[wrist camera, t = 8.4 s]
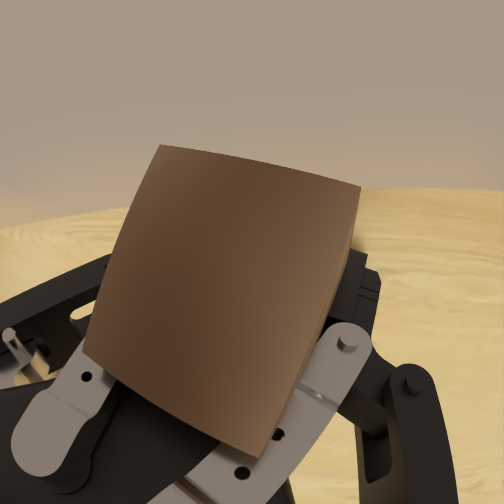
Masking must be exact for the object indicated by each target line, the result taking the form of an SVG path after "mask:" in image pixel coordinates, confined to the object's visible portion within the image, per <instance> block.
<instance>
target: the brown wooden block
mask: <svg viewBox="0 0 504 504" xmlns="http://www.w3.org/2000/svg"><path fill="white" fill-rule="evenodd" d="M360 191H361V187H359V186H356V185H353V184H349V183H346V182H342V181H338V180H335V179H330V178H327V177H323V176H319V175H315V174H312V173H307V172H303V171H299V170H295V169H291V168H286V167H282V166H278V165H273V164H269V163H264V162H259V161H254V160H250V159H244V158H239V157H234V156H229V155H224V154H217V153H212V152H206V151H200V150H194V149H188V148H181V147H174V146H167V145H159V147H158V149H157V151H156V153H155V155H154V157H153V159H152V161H151V163H150V165H149V167H148V169H147V171H146V174H145V176H144V178H143V180H142V182H141V184H140V186H139V189H138V191H137V193H136V195H135V197H134V200H133V202H132V204H131V207H130V209H129V211H128V214H127V216H126V218H125V221H124V223H123V226H122V228H121V231H120V233H119V236H118V238H117V241H116V244H115V246H114V249H113V252H112V254H111V257H110V260H109V263H108V265H107V268H106V271H105V274H104V277H103V280H102V283H101V286H100V289H99V292H98V295H97V298H96V301H95V305H94V308H93V311H92V315H91V318H90V322H89V325H88V329H87V333H86V336H85V340H84V344H83V348H82V352H83V353H84V354H85V355H86V356H88V357H89V358H90V359H91V360H93V361H94V362H95V363H96V364H98V365H99V366H100V367H102V368H103V369H104V370H106V371H107V372H108V373H110V374H111V375H112V376H114V377H115V378H116V379H118V380H119V381H121V382H122V383H123V384H125V385H126V386H128V387H129V388H131V389H132V390H134V391H135V392H137V393H138V394H140V395H141V396H143V397H144V398H146V399H147V400H149V401H150V402H152V403H153V404H155V405H157V406H158V407H160V408H161V409H163V410H165V411H166V412H168V413H170V414H171V415H173V416H175V417H177V418H178V419H180V420H182V421H184V422H185V423H187V424H189V425H191V426H193V427H194V428H196V429H198V430H200V431H202V432H204V433H206V434H208V435H210V436H212V437H214V438H216V439H218V440H220V441H222V442H224V443H226V444H228V445H230V446H232V447H234V448H236V449H239V450H241V451H243V452H245V453H248V454H250V455H252V456H255V457H257V458H259V457H260V455H261V454H262V452H263V450H264V449H265V447H266V445H267V444H268V442H269V440H270V439H271V437H272V435H273V434H274V432H275V429H276V427H277V425H278V423H279V421H280V419H281V417H282V415H283V413H284V411H285V409H286V407H287V405H288V403H289V401H290V399H291V397H292V395H293V392H294V390H295V388H296V386H297V384H298V383H299V381H300V379H301V377H302V375H303V373H304V370H305V368H306V366H307V363H308V361H309V359H310V357H311V354H312V352H313V349H314V347H315V345H316V343H317V342H318V341H319V338H320V335H321V333H322V330H323V327H324V324H325V321H326V318H327V315H328V313H329V310H330V308H331V305H332V302H333V300H334V297H335V294H336V291H337V289H338V286H339V283H340V280H341V278H342V275H343V272H344V269H345V266H346V263H347V259H348V255H349V250H350V245H351V240H352V235H353V230H354V225H355V220H356V214H357V208H358V203H359V197H360Z"/></svg>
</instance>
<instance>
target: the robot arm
mask: <svg viewBox="0 0 504 504" xmlns="http://www.w3.org/2000/svg"><path fill="white" fill-rule="evenodd" d="M111 254H112V253H111ZM111 254H108V255H105V256H103V257H100V258H98V259H96V260H93V261H91V262H89V263H87V264H84V265H82V266H80V267H77V268H75V269H73V270H71V271H68V272H66V273H64V274H62V275H59V276H57V277H55V278H53V279H51V280H48V281H46V282H44V283H42V284H40V285H38V286H35V287H33V288H31V289H29V290H27V291H25V292H23V293H21V294H19V295H17V296H15V297H12V298H10V299H8V300H6V301H4V302H2V303H0V504H295V500H294V496H293V493H292V489H291V485H290V481H289V478H288V477H289V476H290V475H291V473H292V472H293V471H294V470H295V468H296V467H297V466H298V465H299V463H300V462H301V461H302V459H303V458H304V457H305V455H306V454H307V453H308V451H309V450H310V449H311V447H312V446H313V445H314V443H315V442H316V441H317V439H318V438H319V436H320V435H321V433H322V432H323V431H324V429H325V428H326V426H327V425H328V423H329V422H330V420H331V419H332V417H333V416H334V414H335V413H336V412H338V413H339V414H340V415H342V416H343V417H345V418H346V419H347V420H349V421H350V422H352V423H353V424H354V426H355V438H356V450H357V463H358V479H359V501H360V504H459V503H458V494H457V486H456V479H455V473H454V467H453V461H452V455H451V450H450V445H449V440H448V436H447V431H446V427H445V422H444V418H443V414H442V410H441V406H440V402H439V399H438V395H437V391H436V388H435V384H434V381H433V379H432V377H431V375H430V374H429V373H428V372H427V371H426V370H425V369H424V368H422V367H420V366H418V365H416V364H402V365H400V366H398V367H397V368H396V367H395V366H393V365H392V364H390V363H389V362H387V361H386V360H384V359H383V358H382V357H381V356H380V355H379V354H378V353H377V352H376V350H375V349H374V347H373V344H372V341H371V334H372V329H373V324H374V320H375V315H376V310H377V304H378V299H379V293H380V288H381V280H380V277H379V275H378V272H376V271H373V270H370V269H367V268H365V264H366V260H367V256H368V254H366V253H363V252H360V251H357V250H353V249H350V250H349V255H348V259H347V263H346V266H345V269H344V272H343V275H342V278H341V280H340V283H339V286H338V289H337V291H336V294H335V297H334V300H333V302H332V305H331V308H330V310H329V313H328V315H327V318H326V321H325V324H324V327H323V330H322V333H321V335H320V338H319V341H318V342H317V343H316V345H315V347H314V349H313V352H312V354H311V357H310V359H309V361H308V363H307V366H306V368H305V370H304V373H303V375H302V377H301V379H300V381H299V383H298V384H297V386H296V388H295V390H294V392H293V395H292V397H291V399H290V401H289V403H288V405H287V407H286V409H285V411H284V413H283V415H282V417H281V419H280V421H279V423H278V425H277V427H276V429H275V432H274V434H273V435H272V437H271V439H270V440H269V442H268V444H267V445H266V447H265V449H264V450H263V452H262V454H261V455H260V457H259V458H257V457H255V456H252V455H250V454H248V453H245V452H243V451H241V450H239V449H236V448H234V447H232V446H230V445H228V444H226V443H224V442H222V441H220V440H218V439H216V438H214V437H212V436H210V435H208V434H206V433H204V432H202V431H200V430H198V429H196V428H194V427H193V426H191V425H189V424H187V423H185V422H184V421H182V420H180V419H178V418H177V417H175V416H173V415H171V414H170V413H168V412H166V411H165V410H163V409H161V408H160V407H158V406H157V405H155V404H153V403H152V402H150V401H149V400H147V399H146V398H144V397H143V396H141V395H140V394H138V393H137V392H135V391H134V390H132V389H131V388H129V387H128V386H126V385H125V384H123V383H122V382H121V381H119V380H118V379H116V378H115V377H114V376H112V375H111V374H110V373H108V372H107V371H106V370H104V369H103V368H102V367H100V366H99V365H98V364H96V363H95V362H94V361H93V360H91V359H90V358H89V357H88V356H86V355H85V354H84V353H83V352H82V348H83V344H84V340H85V336H86V333H87V329H88V325H89V322H90V318H91V315H92V313H91V314H89V315H87V316H85V317H83V318H81V319H78V320H75V319H72V318H71V317H70V315H71V313H72V312H73V311H74V310H75V309H77V308H80V307H82V306H84V305H86V304H88V303H90V302H92V301H94V300H96V298H97V295H98V292H99V289H100V286H101V283H102V280H103V277H104V274H105V271H106V268H107V265H108V263H109V260H110V257H111ZM63 367H64V368H63ZM61 368H63V369H62V370H61V372H60V373H59V375H58V376H57V378H53V379H49V377H48V375H49V374H51V373H53V372H55V371H57V370H59V369H61Z"/></svg>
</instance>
